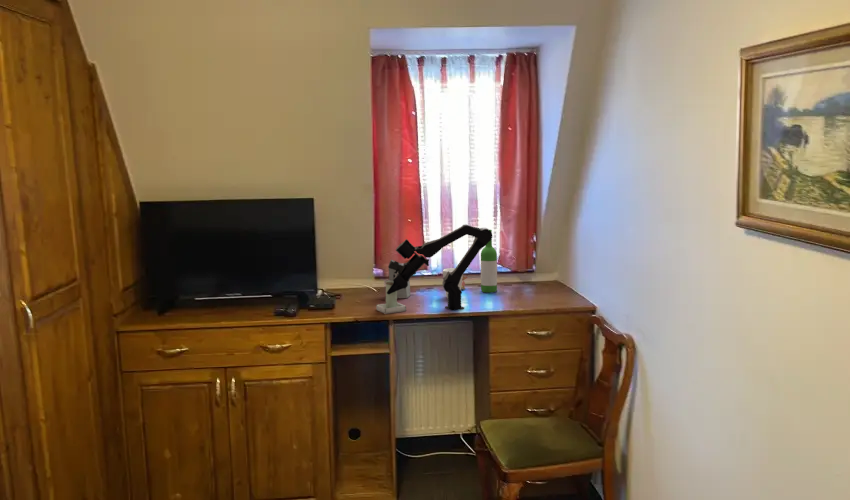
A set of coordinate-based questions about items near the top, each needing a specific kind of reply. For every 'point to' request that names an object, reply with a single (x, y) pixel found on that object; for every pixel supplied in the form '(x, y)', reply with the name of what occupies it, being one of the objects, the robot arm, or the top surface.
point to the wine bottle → (489, 269)
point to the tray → (385, 310)
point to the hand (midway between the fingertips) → (387, 292)
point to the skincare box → (402, 292)
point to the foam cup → (450, 272)
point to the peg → (390, 296)
